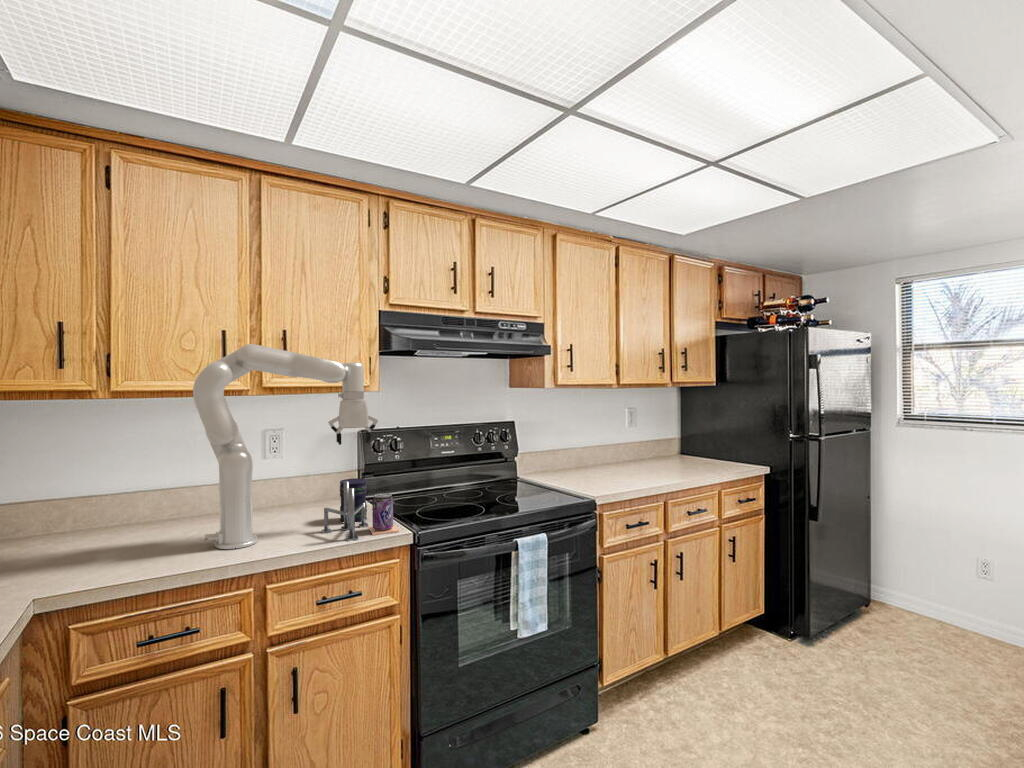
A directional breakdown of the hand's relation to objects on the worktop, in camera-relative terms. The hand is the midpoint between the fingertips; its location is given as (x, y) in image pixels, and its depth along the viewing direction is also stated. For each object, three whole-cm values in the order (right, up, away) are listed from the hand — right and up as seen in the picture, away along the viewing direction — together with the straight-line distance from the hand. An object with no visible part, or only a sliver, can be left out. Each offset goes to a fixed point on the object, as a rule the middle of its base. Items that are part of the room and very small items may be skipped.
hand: (353, 443), depth 194 cm
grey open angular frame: (+1, -30, -9) cm, 32 cm away
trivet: (+12, -30, -5) cm, 33 cm away
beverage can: (+12, -30, -5) cm, 33 cm away
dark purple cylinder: (-3, -30, +9) cm, 32 cm away
